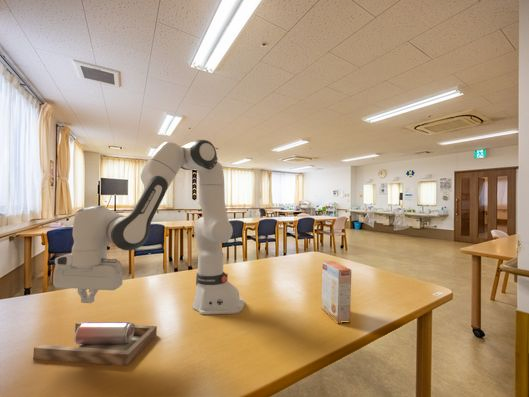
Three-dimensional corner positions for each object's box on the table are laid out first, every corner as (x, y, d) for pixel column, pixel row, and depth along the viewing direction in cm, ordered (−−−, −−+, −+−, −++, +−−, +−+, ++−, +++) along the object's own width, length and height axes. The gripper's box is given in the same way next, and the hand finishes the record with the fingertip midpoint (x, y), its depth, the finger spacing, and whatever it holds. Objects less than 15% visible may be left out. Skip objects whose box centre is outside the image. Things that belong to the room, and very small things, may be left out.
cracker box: (351, 323, 91) (352, 269, 92) (336, 324, 90) (338, 269, 90) (333, 307, 105) (334, 260, 105) (320, 308, 104) (322, 260, 104)
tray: (156, 335, 79) (156, 326, 79) (127, 365, 64) (128, 354, 64) (78, 330, 81) (79, 321, 81) (33, 358, 66) (33, 347, 66)
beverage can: (86, 318, 76) (134, 318, 77) (87, 336, 76) (134, 335, 77) (73, 329, 70) (125, 329, 71) (73, 349, 70) (125, 348, 71)
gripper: (127, 256, 76) (126, 300, 76) (68, 254, 77) (66, 296, 77) (114, 261, 70) (112, 308, 69) (49, 258, 71) (47, 304, 70)
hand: (87, 302), depth 73 cm, fingers closed
